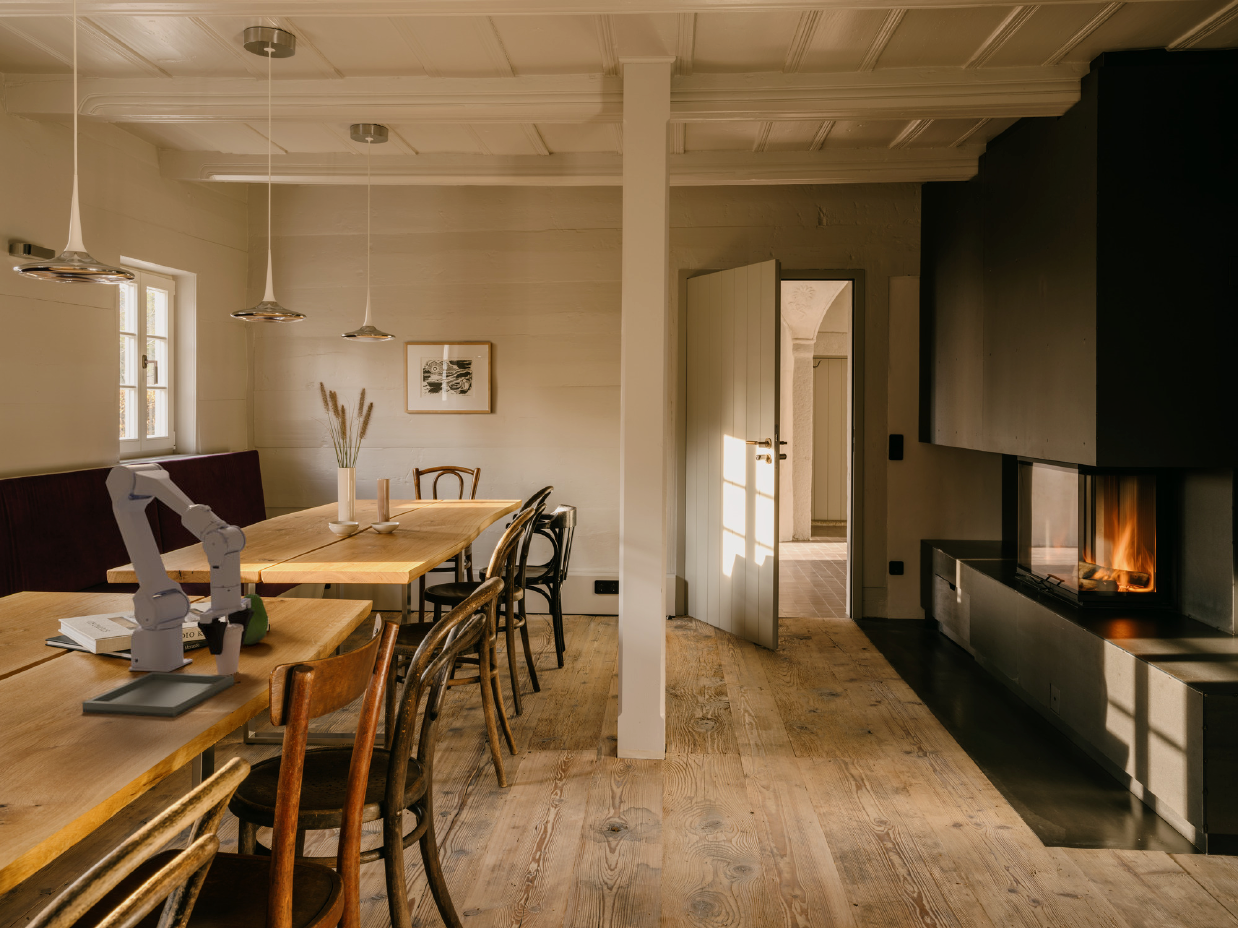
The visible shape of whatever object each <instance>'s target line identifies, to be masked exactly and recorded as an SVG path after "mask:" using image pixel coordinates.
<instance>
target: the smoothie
mask: <svg viewBox="0 0 1238 928" xmlns="http://www.w3.org/2000/svg"><path fill="white" fill-rule="evenodd" d="M224 622H228V624H227V626H226V629H225V633H224V638H223V651H222V654H221V655H214V657H215V662H216V663H215V664H216V670H217V675H228V676H232V675H235V674H237V673H238V672H237V671H238V669H239V662H240V661H239V660H240V654H241V653H240V650H241V645H240V644H241V635H242V631H243V630H244V629H243V625H241V624H229V621H228V613H226V616H224ZM236 672H237V673H236ZM234 673H235V674H234ZM231 674H232V675H231Z"/></svg>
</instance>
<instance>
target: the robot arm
mask: <svg viewBox="0 0 1238 928" xmlns="http://www.w3.org/2000/svg"><path fill="white" fill-rule="evenodd" d="M105 485H106V487H107V491H108V494H109V496H110V498H111V502H112V511H113V514H114V517H115V520H116V523H117V525H118V529H119V531H120V534H121V536H122V540H123V543H124V545H125V548H126V550H127V553H128V556H129V558H130V562H131V565H132V567H133V570H134V573H135V576H136V579H137V581H138V584H139V588H138V590H137V591H136V592H135V593H134V595H132V596H133V597H132V602H133V606H134V608H133V609H134V611H133V612H134V613H133V614H134V618H135V621H136V623H137V624H138V625H139V626H137V627H136V628H135V629H134V630H133V632H132V634H131V637H130V656H131V657H130V660H131V666H130V667H128V671H139V672H140V671H141V672H142V671H143V672H164V673H171V672H172V671H174V670H176V669H178V668H182V667H183V666H185V665H188V664H190V663H191V662H192V663H193V660H194V659H192V658H184V636H183V635H184V633H183V631H184V630H183V623H185V622H186V617H188V615H189V614H190V612H191V607H192V606H191V600H190V598H189V597H188V595H187V593H185V591H183V588H182V586H181V584H180V583H179V582H178V581H175V580H173V579H172V578H170V577H169V576H168V573H167V570H166V568H165V564H164V562H163V560H162V556H161V553H160V550H159V547H158V546H157V542H156V540H155V537H154V535H153V531H152V528H151V526H150V522H149V520H148V517H147V515H146V512H145V509H146V507H147V506H148V504H150V503H151V502H152V501H153V500H154V499H155V498H156V499H158V500H159V501H161V502H162V503H164V505H166V506H168V507H169V508H170V509H171V510H172V511H174V512H176V514H178V515H180V516H181V521H180V522H181V525H182V526H183V527H184V528H186V529H187V530H188V531H189V532H190V533H191V534H193V535H194V536H195V537H196V538H197V539H198V540H200V542H202V543H201V545H202V549H203V552H204V553H205V555H206V557H207V563H208V565H209V578H210V579H209V580H210V581H209V582H210V585H209V586H210V606H209V608H207V609H205V611H204V612H201V613H199V620H198V621H197V627H198V629H199V630H200V631H201V634H202V635H203V637H204V639H205V641H206V644H207V647H208V650H209V653H210V655H211V656H212V655H213V656H215V655H221V654H222V651H223V638H224V633H225V629H226V626H227V624H241V625H243V629H244V630H243V631H242V635H241V644H240V646H242V645H244V640H245V636H246V632H247V628H248V625H249V622H250V620H251V618H252V616H253V615H254V610H253V609H248V608H250V607H251V599H248V598H244V597H242V582H241V581H242V580H241V577H242V576H241V552H242V551H243V550H244V548H245V546H246V544H247V537H246V535H245V533H244V531H243V530H242V529H241V527H240V526H238V525H230V524H228V523H227V522H226V521H225V520H222V519H221V518H220V517H219V516H217V514H215V513H214V512H213V511H212V508H211V507H210V506H209V505H205V504H195V503H194V502H193V501H192V500H191V499H190V498H189V496H187V495H186V494H185V493H184V492H183V491H182V490H181V489H180V488H179V487H178V486H177V485H176V483H174V481H172V480H171V479H170V473H169V472H168V471H167V470H165V469H164V468H163V466H161V465H160V464H159V463H156V462H150V463H146V464H144V463H143V464H132V465H125V464H124V465H123V464H118V465H115V466H114V467H112V469H111V470H110V472H109V474H108V475H107V479H106V481H105ZM226 613H228V622H225V621H221V618H225V616H226Z"/></svg>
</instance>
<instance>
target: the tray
mask: <svg viewBox="0 0 1238 928" xmlns="http://www.w3.org/2000/svg"><path fill="white" fill-rule="evenodd" d="M234 685H235V675H218V674H203V673H202V674H201V673H183V672H182V673H181V672H158V671H150V672H149V673H146V674H144V675H141V676H140V677H138V678H135V679H133V680H131V681H128V682H125V683H124V684H122V685H120V686H119V685H118V686H116V687H115V688H111V689H110V690H108V691H105V692H102V693H101V694H99V695H97V696H95V697H91V698H89V699H87V700H85V701H82V712H83V713H93V714H109V715H110V714H113V715H127V716H128V715H130V716H131V715H132V716H143V717H144V716H146V717H166V718H167V717H168V718H175V717H177V716H178V715H180V714H182V713H184V712H186V711H188V710H190V709H191V708H193V707H195V706H197V705H199V704H200V703H202V702H204V701H206V700H208V699H210V698H213V696H216V695H217V694H219V693H221V692H224V691H225V690H227V689H229V688H230V686H231V687H233V686H234Z"/></svg>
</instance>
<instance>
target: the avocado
mask: <svg viewBox="0 0 1238 928" xmlns="http://www.w3.org/2000/svg"><path fill="white" fill-rule="evenodd" d="M243 598H248V599H251V607H250V608H248V609H253V610H254V615H253V616H252V618H251V620H250V622H249V625H248V628H247V632H246V636H245V640H244V644H245V645H248V646H252V645H255V644H257V643H259V642H260V641H262V640H263V639H264V638H265V636H266V634H267V631H268V627H269V615H268V613H267V611H266V607H265V605H264V601H263V599H262V598H261V597H260V595H259V594H257V593H249V594H246V595H245V596H244V597H243ZM244 644H243V645H244Z"/></svg>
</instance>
